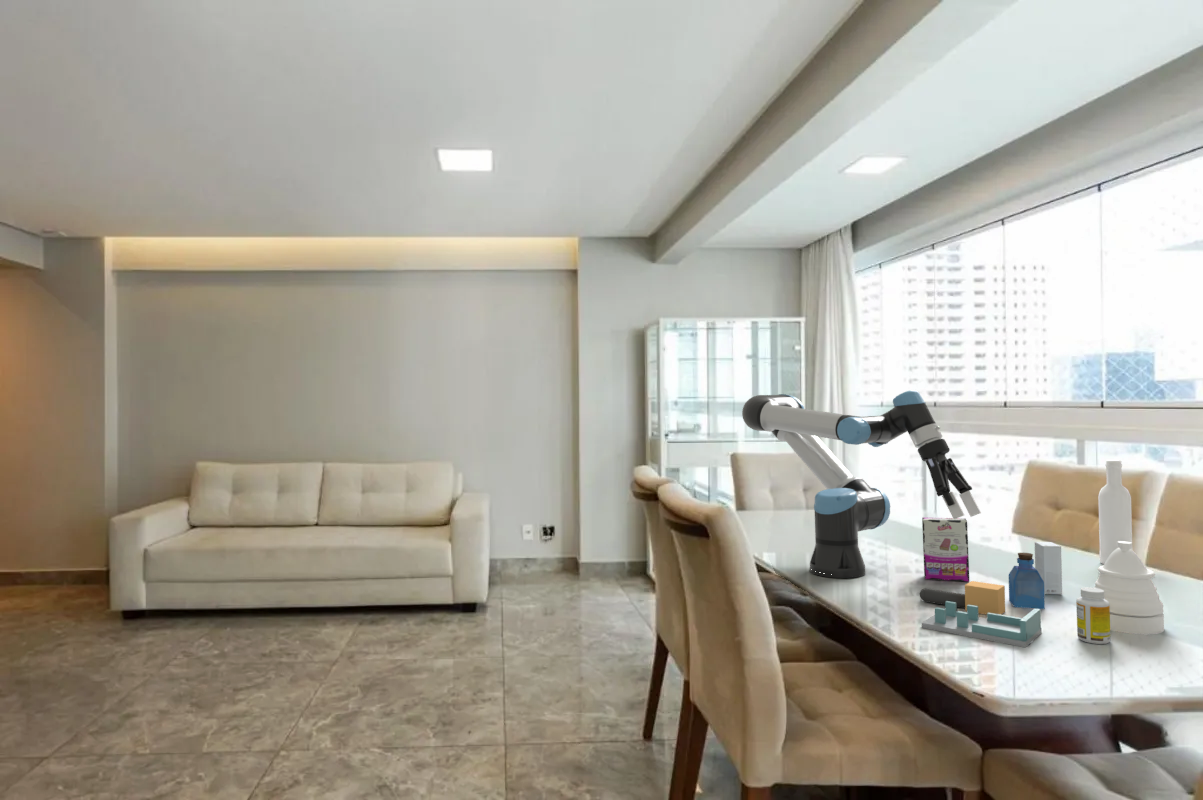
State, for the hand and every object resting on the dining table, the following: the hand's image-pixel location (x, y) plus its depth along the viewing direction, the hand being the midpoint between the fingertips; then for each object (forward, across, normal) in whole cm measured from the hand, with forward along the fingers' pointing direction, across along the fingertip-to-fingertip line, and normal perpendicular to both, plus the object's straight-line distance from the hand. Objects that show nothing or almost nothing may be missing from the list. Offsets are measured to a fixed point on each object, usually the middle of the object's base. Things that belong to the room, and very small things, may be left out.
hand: (967, 516), depth 193 cm
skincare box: (+24, +6, -7) cm, 25 cm away
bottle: (+24, +50, -16) cm, 58 cm away
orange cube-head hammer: (+20, -22, +5) cm, 30 cm away
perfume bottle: (+24, -10, -6) cm, 27 cm away
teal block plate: (+25, -37, -3) cm, 45 cm away
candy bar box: (+13, +4, +14) cm, 20 cm away
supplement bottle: (+34, -30, -20) cm, 49 cm away
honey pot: (+34, -14, -23) cm, 43 cm away
